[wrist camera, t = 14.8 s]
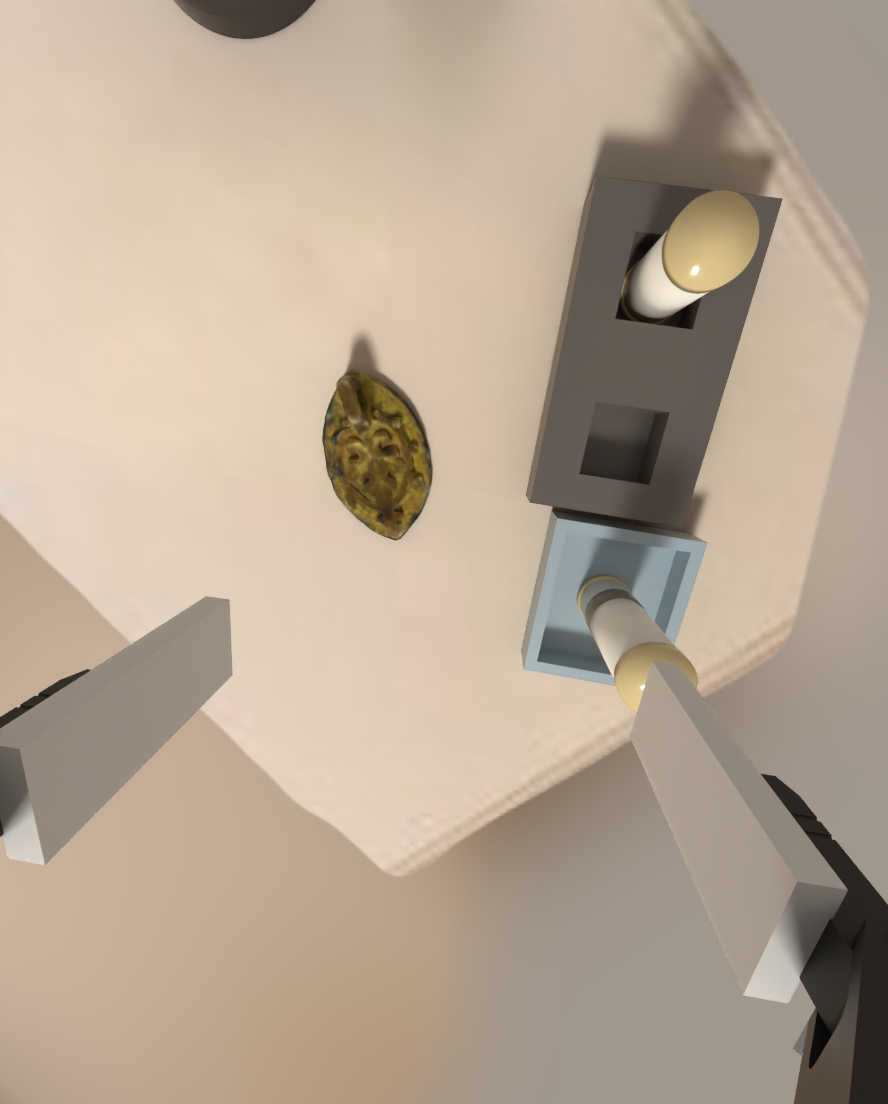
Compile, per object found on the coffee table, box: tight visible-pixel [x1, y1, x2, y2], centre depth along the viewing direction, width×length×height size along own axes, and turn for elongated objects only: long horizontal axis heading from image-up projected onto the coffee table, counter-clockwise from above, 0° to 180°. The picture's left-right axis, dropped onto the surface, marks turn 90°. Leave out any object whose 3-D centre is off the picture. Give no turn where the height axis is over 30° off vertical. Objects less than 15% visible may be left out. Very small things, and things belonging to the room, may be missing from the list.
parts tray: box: [521, 511, 707, 686], centre depth 40 cm, size 14×12×3 cm
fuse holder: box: [526, 176, 782, 527], centre depth 34 cm, size 22×12×4 cm, turn 172°
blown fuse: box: [577, 575, 698, 713], centre depth 34 cm, size 5×5×14 cm
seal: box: [323, 370, 432, 540], centre depth 38 cm, size 9×5×15 cm
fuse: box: [619, 190, 759, 325], centre depth 29 cm, size 5×5×10 cm
